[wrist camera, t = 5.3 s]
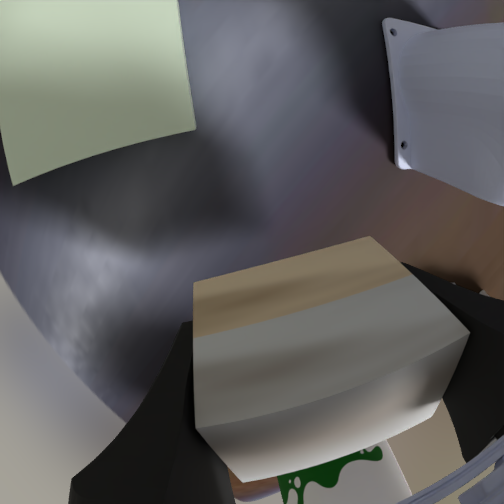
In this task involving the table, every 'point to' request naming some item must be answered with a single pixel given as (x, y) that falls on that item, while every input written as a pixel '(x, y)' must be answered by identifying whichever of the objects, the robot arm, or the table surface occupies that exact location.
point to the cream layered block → (317, 357)
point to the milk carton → (348, 480)
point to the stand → (88, 79)
